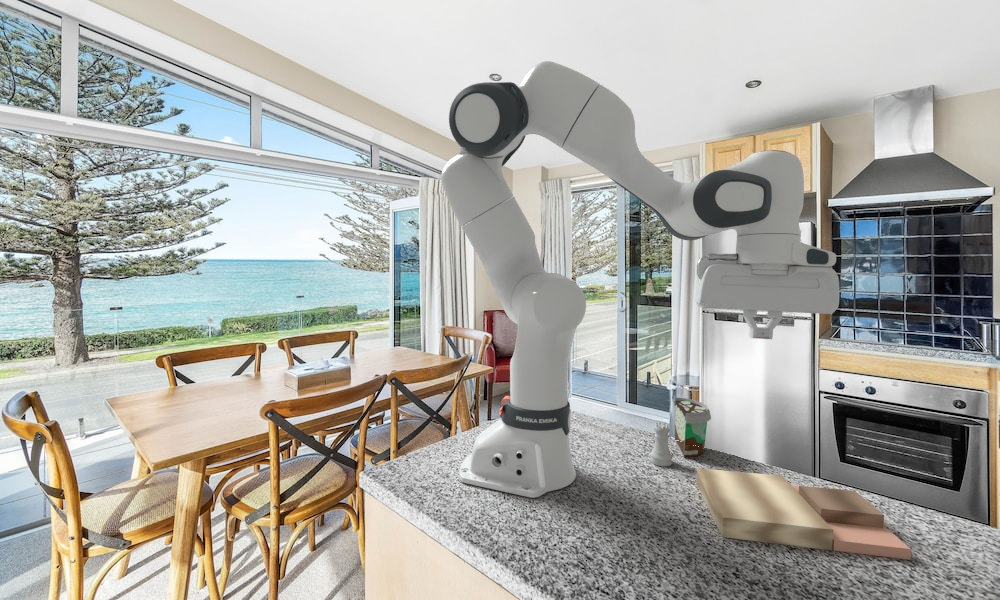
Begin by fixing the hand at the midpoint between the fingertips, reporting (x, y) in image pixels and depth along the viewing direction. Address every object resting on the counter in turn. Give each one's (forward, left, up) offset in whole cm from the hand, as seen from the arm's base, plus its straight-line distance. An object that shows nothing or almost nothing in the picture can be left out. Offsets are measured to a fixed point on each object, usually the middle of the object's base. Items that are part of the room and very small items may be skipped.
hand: (760, 338), depth 69 cm
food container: (-5, +21, -28) cm, 35 cm away
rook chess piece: (-13, +13, -28) cm, 34 cm away
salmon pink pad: (+11, -3, -28) cm, 30 cm away
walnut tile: (+11, -3, -27) cm, 29 cm away
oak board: (-1, -3, -28) cm, 28 cm away
